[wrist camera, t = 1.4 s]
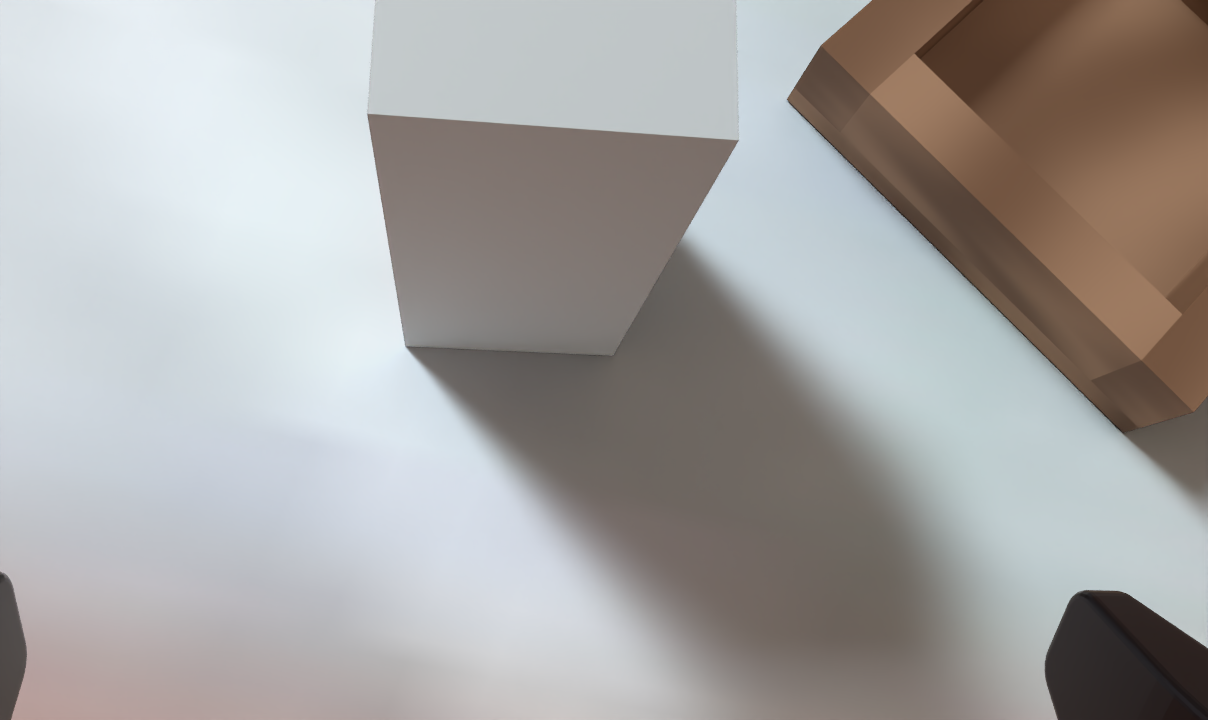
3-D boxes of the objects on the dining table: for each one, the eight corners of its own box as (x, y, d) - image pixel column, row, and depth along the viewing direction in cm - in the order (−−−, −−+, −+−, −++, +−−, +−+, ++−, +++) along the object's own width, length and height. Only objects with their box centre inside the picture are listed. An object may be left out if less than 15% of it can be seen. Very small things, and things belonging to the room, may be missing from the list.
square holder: (1374, 144, 28) (1461, 99, 26) (1123, 432, 25) (1194, 412, 23) (1063, -147, 29) (1118, -218, 27) (786, 99, 26) (820, 45, 24)
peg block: (613, 355, 24) (738, 140, 14) (405, 346, 24) (367, 113, 13) (615, 165, 25) (733, -172, 15) (416, 152, 25) (389, -208, 14)
